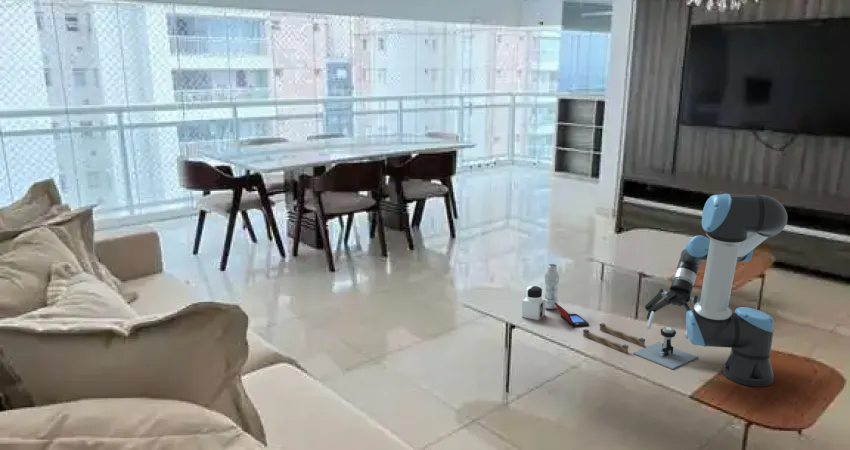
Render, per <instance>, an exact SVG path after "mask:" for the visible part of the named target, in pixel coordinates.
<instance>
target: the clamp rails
mask: <svg viewBox="0 0 850 450" xmlns="http://www.w3.org/2000/svg"><path fill="white" fill-rule="evenodd" d="M606 325H607V324H605V323H603V322H602V323H599V330H600V331H602V332H604V333H607V334H609V335H612V336H615V337H617V338H620V339H623V340H625V341H627V342H630V343H633V344H636V345H638V346H640V347H644V346H645V341H646V339H645V338H643V337H640V338H638V337H636V336H633V335H631V334H628V333H625V332H623V331H620V330H618V329H614V328H612V327H609V326H606ZM582 330H583V331H582V335H583V337H585V338H587V339H590V340H592V341H594V342H597V343H600V344H602V345H604V346H607V347H609V348H612V349H614V350H617V351H620V352H621V353H624V354H627V353H629V345H628V344H621V343H618V342H615V341H613V340H610V339H608V338H605V337H603V336H601V335H598V334H595V333H593V332H590V330H589V329H587V328H585V329H582Z"/></svg>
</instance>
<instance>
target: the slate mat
mask: <svg viewBox="0 0 850 450" xmlns="http://www.w3.org/2000/svg"><path fill="white" fill-rule="evenodd" d="M663 343H664V342H660V341H659V342H656V343H654V344H650V345H648V346H647V347H643V348H641V349H639V350H637V351H635V352H633V353H632V354H633V355H634V356H637V357H640V358H642V359H645V360H648V361H650V362H651V363H654V364H657V365H659V366H662V367H665V368H667V369H669V370H675V369H677V368H679V367H682V366H684V365H686V364H688V363H690V362H692V361H694V360H697V359H698V358H699V356H698V355H695V354H692V353H690V352H687V351H683V350H681V349H679V348H676V347H673V353H672V354H671V355H667V356H660V355H661V353H660V352H661V348H663V347H662V345H663Z"/></svg>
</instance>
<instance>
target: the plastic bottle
mask: <svg viewBox="0 0 850 450" xmlns="http://www.w3.org/2000/svg"><path fill="white" fill-rule="evenodd" d="M559 281H560V274H559V273H558V268H557V264H554V263H550V264H548V266H547V271H546V273H545V275H544V283H545V284H544V285H545V290H544V291H545V293H544V298H545V309H547V310H556V309H557V307H556V305H555V302H556V303H557V304H558V305H559V297H558V287H559Z"/></svg>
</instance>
